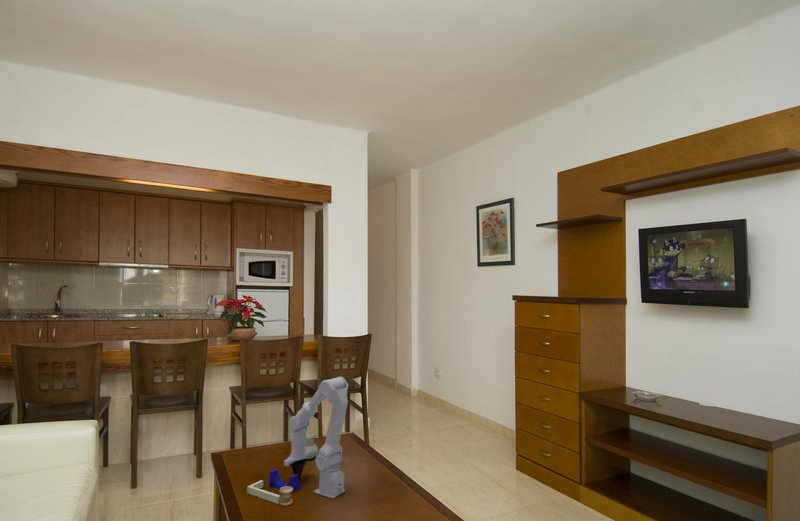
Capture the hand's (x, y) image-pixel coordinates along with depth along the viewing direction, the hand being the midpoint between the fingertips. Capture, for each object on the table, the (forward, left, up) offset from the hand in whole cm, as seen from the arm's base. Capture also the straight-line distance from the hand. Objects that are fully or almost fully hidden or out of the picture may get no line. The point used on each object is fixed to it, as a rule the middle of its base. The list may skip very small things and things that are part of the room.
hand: (297, 478), depth 190 cm
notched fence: (0, +15, -1) cm, 16 cm away
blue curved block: (0, +7, -1) cm, 8 cm away
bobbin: (-9, +17, -1) cm, 19 cm away
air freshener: (+14, -22, -1) cm, 26 cm away
